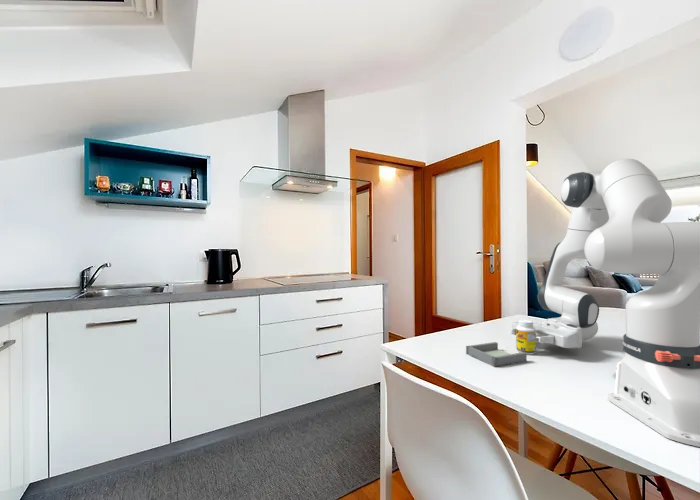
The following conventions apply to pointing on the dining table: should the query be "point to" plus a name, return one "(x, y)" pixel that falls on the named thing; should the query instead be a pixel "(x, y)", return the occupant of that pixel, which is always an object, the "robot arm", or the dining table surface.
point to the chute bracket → (494, 354)
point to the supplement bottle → (526, 337)
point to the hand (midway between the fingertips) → (524, 335)
